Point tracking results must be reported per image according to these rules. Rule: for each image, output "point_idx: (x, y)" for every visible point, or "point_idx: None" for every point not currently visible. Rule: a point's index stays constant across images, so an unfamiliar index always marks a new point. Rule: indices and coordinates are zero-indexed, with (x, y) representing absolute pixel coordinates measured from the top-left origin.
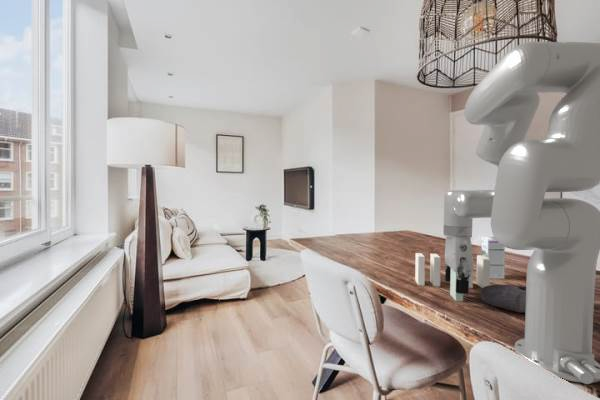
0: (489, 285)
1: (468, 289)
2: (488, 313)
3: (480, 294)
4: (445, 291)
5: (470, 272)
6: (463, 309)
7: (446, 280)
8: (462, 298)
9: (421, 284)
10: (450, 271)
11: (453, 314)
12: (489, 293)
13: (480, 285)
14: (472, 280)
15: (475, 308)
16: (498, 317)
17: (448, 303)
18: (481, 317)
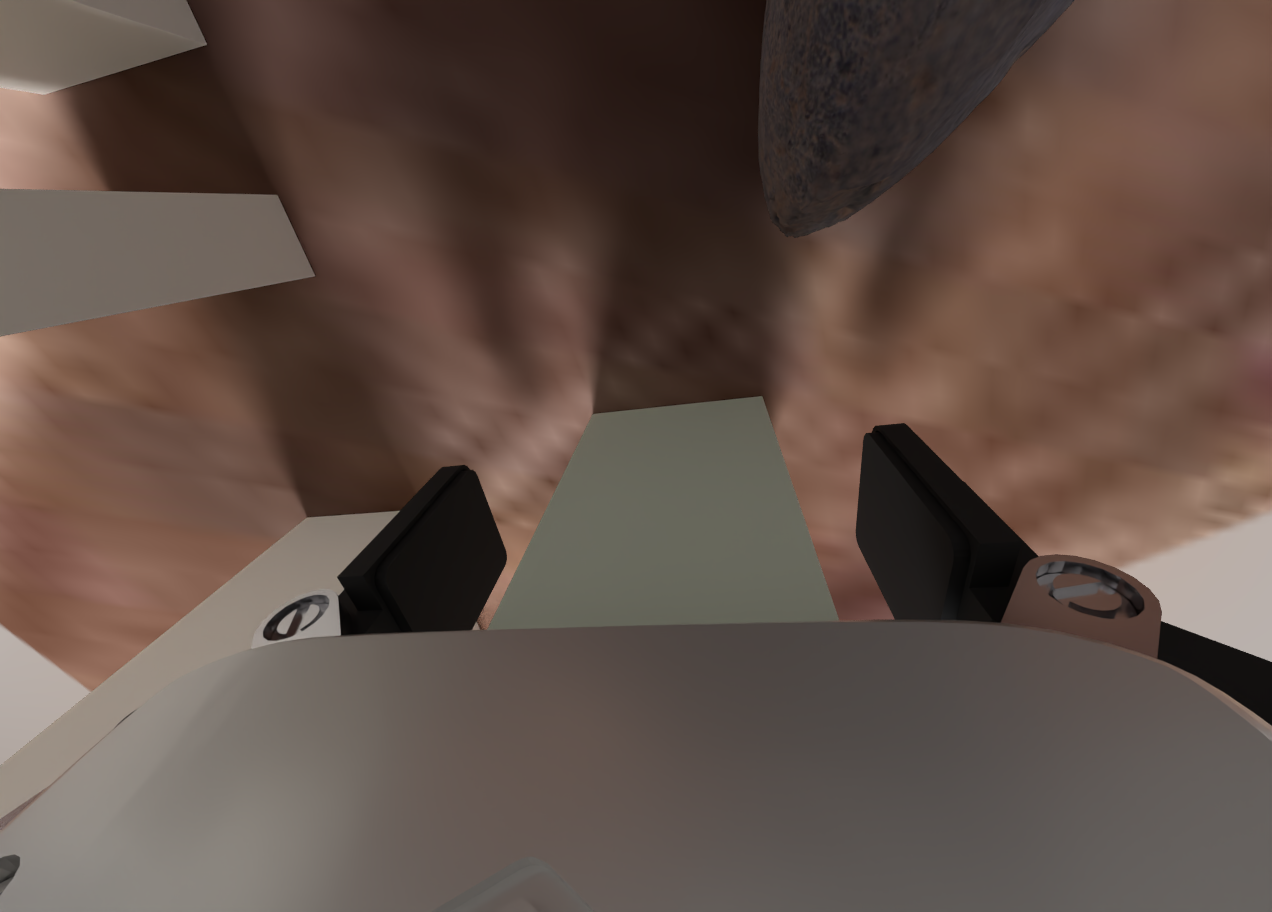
0: (907, 13)
1: (925, 446)
2: (1096, 198)
3: (816, 229)
4: (536, 491)
5: (42, 242)
6: (973, 434)
7: (504, 563)
8: (767, 414)
9: (474, 629)
10: (432, 625)
11: (1086, 531)
12: (989, 92)
13: (121, 56)
14: (178, 198)
15: (943, 315)
16: (1243, 92)
17: (835, 521)
18: (1198, 311)
